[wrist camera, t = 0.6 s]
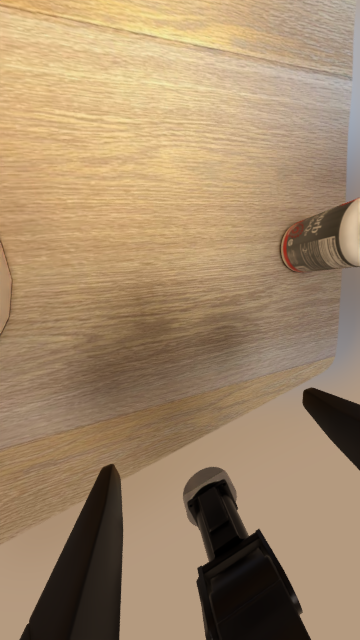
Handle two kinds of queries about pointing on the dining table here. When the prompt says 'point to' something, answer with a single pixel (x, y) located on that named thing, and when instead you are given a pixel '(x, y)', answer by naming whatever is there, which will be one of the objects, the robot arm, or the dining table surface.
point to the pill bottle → (324, 240)
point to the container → (4, 290)
